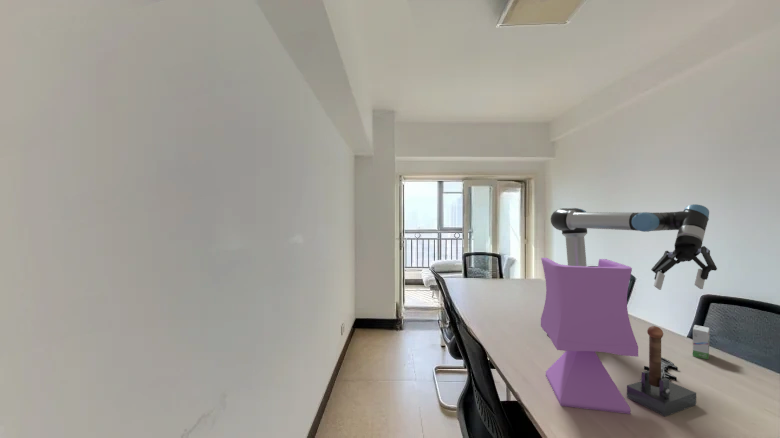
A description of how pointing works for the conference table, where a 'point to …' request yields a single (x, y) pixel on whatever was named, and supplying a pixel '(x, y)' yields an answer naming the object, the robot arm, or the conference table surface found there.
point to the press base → (661, 395)
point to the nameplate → (664, 367)
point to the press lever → (655, 355)
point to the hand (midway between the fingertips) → (676, 287)
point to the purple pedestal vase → (587, 331)
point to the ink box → (701, 342)
